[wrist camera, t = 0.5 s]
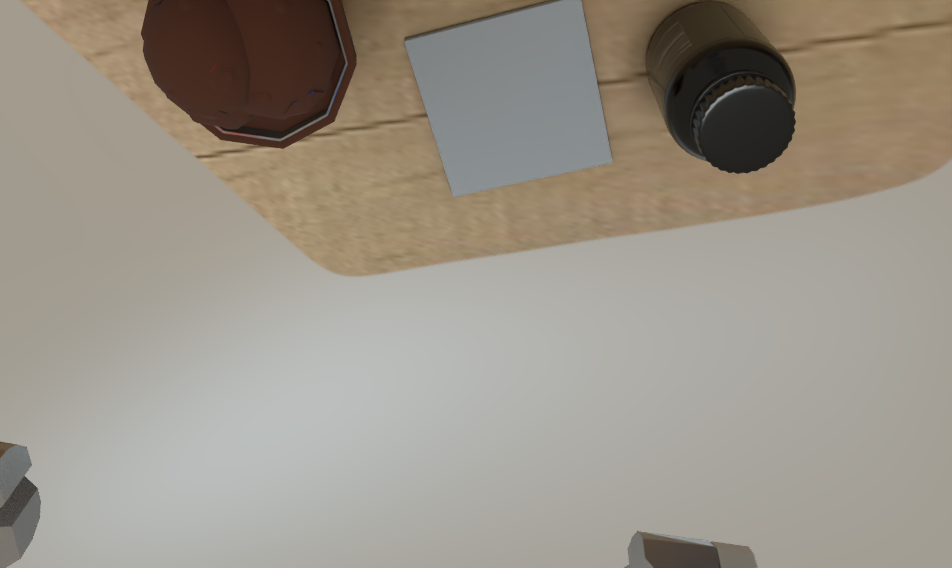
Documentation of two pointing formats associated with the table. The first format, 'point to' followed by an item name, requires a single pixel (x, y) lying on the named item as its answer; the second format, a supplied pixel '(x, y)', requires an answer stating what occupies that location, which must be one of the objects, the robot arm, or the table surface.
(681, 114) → the supplement bottle
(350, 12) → the table surface
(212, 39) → the ice cream bowl
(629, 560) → the robot arm
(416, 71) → the felt pad
